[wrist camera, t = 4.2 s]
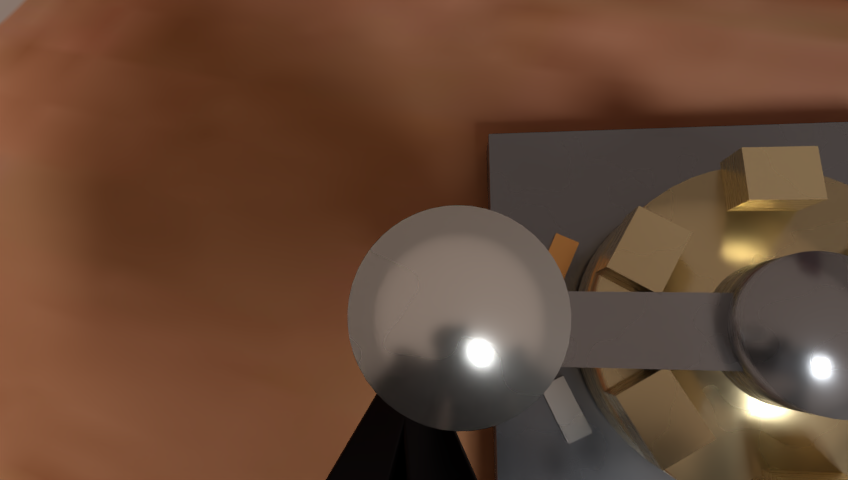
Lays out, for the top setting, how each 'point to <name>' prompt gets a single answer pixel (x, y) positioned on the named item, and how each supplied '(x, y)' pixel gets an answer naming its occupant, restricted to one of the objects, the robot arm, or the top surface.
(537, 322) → the crank mechanism
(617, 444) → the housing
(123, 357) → the top surface
